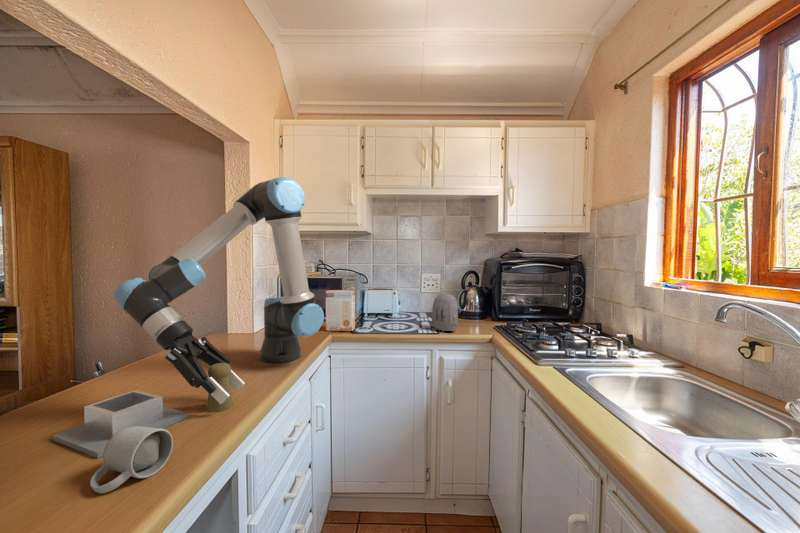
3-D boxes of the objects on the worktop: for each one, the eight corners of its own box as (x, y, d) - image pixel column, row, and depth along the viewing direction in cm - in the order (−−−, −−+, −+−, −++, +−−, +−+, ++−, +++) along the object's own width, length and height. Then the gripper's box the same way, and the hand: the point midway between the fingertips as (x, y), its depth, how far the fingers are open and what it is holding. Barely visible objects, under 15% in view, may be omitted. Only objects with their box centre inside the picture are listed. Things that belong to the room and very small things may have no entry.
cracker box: (355, 330, 178) (355, 290, 178) (352, 332, 172) (352, 291, 172) (329, 329, 180) (329, 289, 179) (325, 331, 174) (325, 290, 173)
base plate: (145, 405, 88) (145, 401, 88) (188, 417, 82) (188, 413, 82) (52, 440, 71) (52, 435, 71) (97, 458, 65) (97, 453, 65)
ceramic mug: (142, 454, 66) (140, 415, 66) (174, 461, 64) (173, 421, 64) (77, 491, 56) (75, 445, 56) (113, 501, 54) (111, 454, 54)
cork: (208, 403, 89) (208, 361, 89) (234, 400, 91) (234, 359, 91) (204, 413, 83) (203, 369, 83) (231, 410, 85) (231, 366, 85)
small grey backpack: (460, 332, 174) (461, 293, 174) (450, 335, 168) (451, 294, 168) (437, 327, 185) (438, 291, 184) (427, 330, 179) (427, 292, 179)
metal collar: (135, 410, 83) (135, 389, 83) (162, 417, 79) (162, 396, 79) (84, 429, 74) (84, 406, 73) (112, 439, 70) (112, 415, 70)
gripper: (184, 331, 97) (241, 388, 97) (127, 350, 77) (199, 422, 77) (202, 312, 97) (260, 369, 97) (150, 327, 77) (222, 399, 77)
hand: (233, 393), depth 87 cm, fingers open, 7 cm apart
